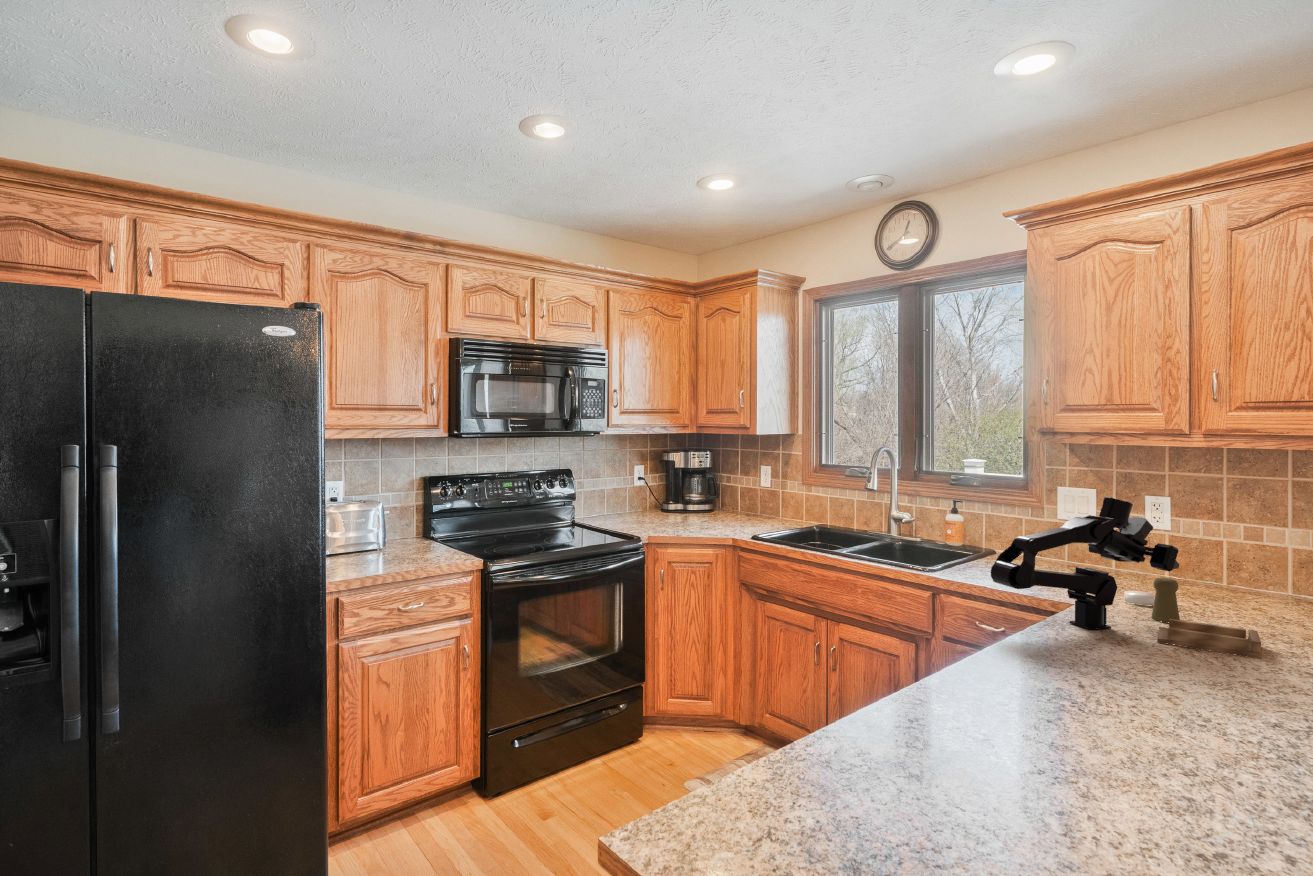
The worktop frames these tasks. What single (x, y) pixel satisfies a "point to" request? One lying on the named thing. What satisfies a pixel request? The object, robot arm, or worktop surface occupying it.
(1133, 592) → the white rounded cylinder
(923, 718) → the worktop surface
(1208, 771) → the worktop surface
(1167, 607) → the cork
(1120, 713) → the worktop surface
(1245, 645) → the rack
